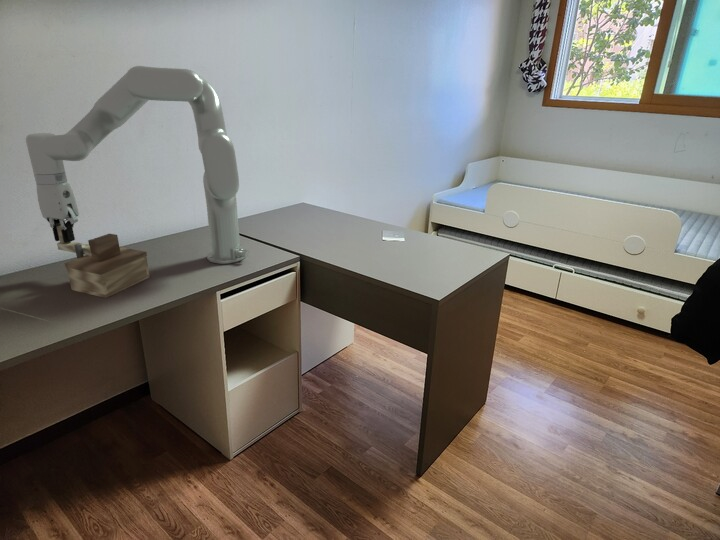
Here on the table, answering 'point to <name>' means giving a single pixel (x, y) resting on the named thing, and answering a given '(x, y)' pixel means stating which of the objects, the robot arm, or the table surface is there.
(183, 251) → the table surface
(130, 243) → the table surface
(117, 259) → the lid
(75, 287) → the light wooden box
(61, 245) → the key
